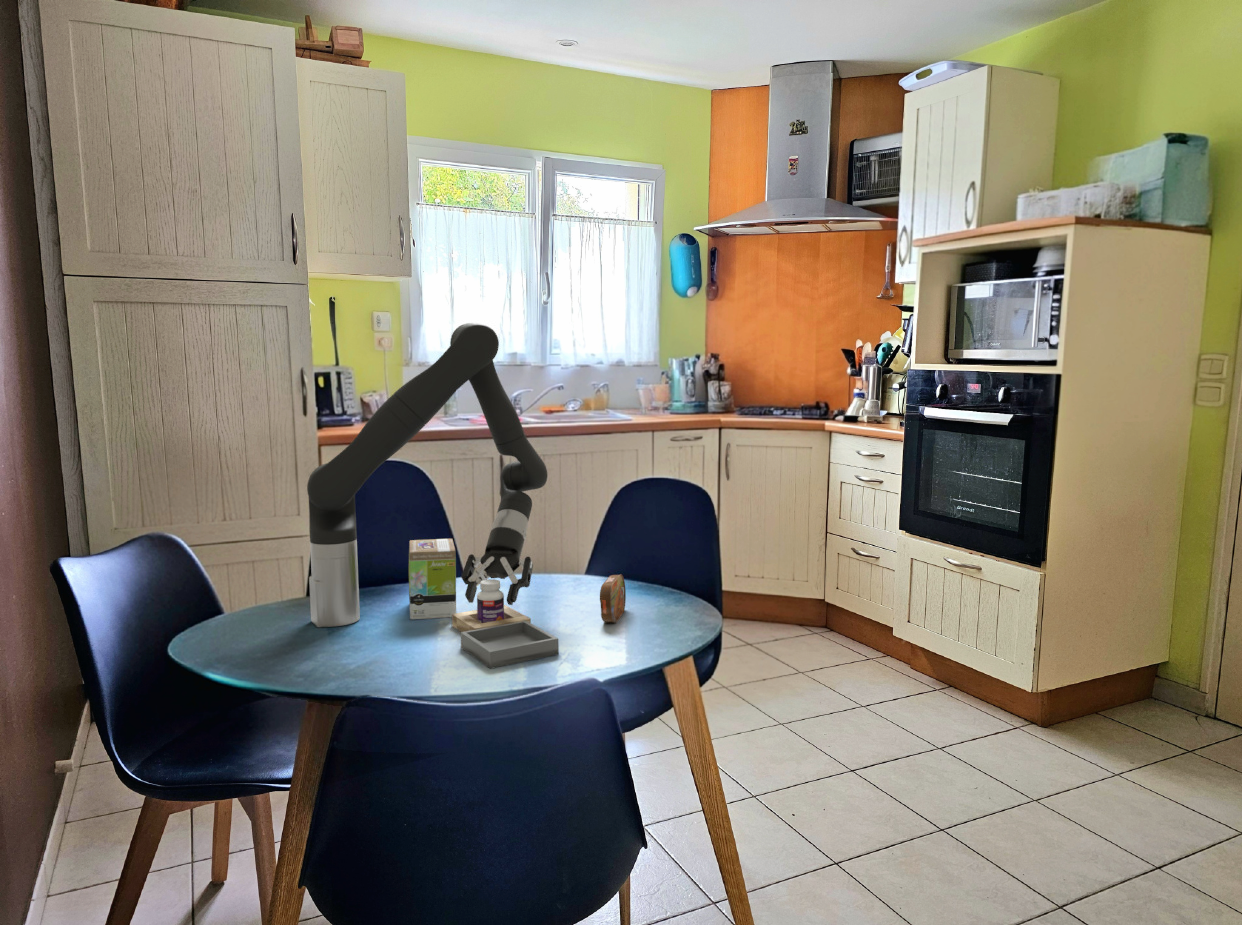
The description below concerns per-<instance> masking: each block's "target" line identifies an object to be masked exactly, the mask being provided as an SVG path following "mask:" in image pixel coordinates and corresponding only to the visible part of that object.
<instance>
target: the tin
mask: <svg viewBox="0 0 1242 925" xmlns="http://www.w3.org/2000/svg"><path fill="white" fill-rule="evenodd" d="M626 595H627V593H626V582H625V578H624V576H623V574H612V575H609V576H608V577H607V579H605V581H604V582H603V584H602V585H601V587H600V590H599V603H600V617H601V620H602V622H603V623H608V624H610V623H614V624H617V622H618V621H619V620H620V618H621V616H622V615H623V613H624V612H625V609H626V601H627V600H626V598H627V597H626Z"/></svg>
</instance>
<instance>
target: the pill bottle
mask: <svg viewBox="0 0 1242 925" xmlns="http://www.w3.org/2000/svg"><path fill="white" fill-rule="evenodd" d="M479 587H480V591H479V592H478V593H477V595H476V604H477V605H476V606H477V607H476V610H477V621H479V622H480V623H486V622H492V621H498V620H503V619H504V605H505V594H504V592H503V591H502V590H500V589H501V581H500V580H499V579H487V580H483V581H481V582H480V584H479Z"/></svg>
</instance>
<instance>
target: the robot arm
mask: <svg viewBox="0 0 1242 925" xmlns="http://www.w3.org/2000/svg"><path fill="white" fill-rule="evenodd" d="M499 342H500V340H499V336H498V335H497V333H496V331H495V330H494V329H493V328H492V327H490V326H489V325H487V324H484V323H478V322H468V323H463V324H461V325H458V327H456V329H454V330H453V332H452V334H451V338H450V342H449V343H450V346H449V347H448V348H447V349H446V350H445V352H443V354H442V355H441V356H440V357H439V358H438V359H437V360H436V361H435V362H434V363H433V364H432V365H430V366H429V367H428V368H426V369H425V370H423V371H422V372H420V373H419V374H417V375H416V376H414V377H413V378H412V379H410V380H408V381H407V382H406V383H405V384H403V385H402V386H400V387H399V388H398V389H397V390H395V392H393V394H391V396H389V397H388V398H387V399H386V401H385V402H383V404H381V405H380V406H379V408H377V410H376V411H375V412H374V413H373V414H372V415H371V417H370V418H369V419H368V421H367V422H366V423H365V424H364V425H363V427H362V428H361V430H360V431H359V433H358V434H357V435H356V437H354V439H352V441H351V442H350V443H349V444H348V446H347V447H345V448H344V449H342V451H341V452H340V453H338V454H337V455H336V456H334V458H332V459H331V460H330V461H328V462H327V463H324V464H321V465H319V466H318V467H316V468H314V469H313V471H312V472H311V474H310V476H309V477H308V478H309V479H308V480H307V485H306V491H307V496H308V514H309V515H308V516H309V517H308V518H309V522H308V523H309V546H310V567H311V568H310V570H311V572H310V573H311V574H310V576H309V578H308V579H309V580H308V582H309V602H310V603H309V605H310V606H309V607H310V621H311V622H312V623H313V624H314V625H315V627H317V628H322V627H327V628H328V627H329V628H330V627H341V626H347V625H351V624H354V623H356V622H358V621H359V620H360V612H361V611H360V610H361V608H360V590H359V564H358V541H357V540H358V538H357V537H358V536H357V535H358V534H357V516H356V494H357V493H358V491H359V490H360V489H361V488H362V486H363V485H364V484H365V483H366V482H367V480H368V479H369V478H370V477H371V475H372V474H374V472H375V471H376V470H377V469H378V468H379V467H380V466H381V465H382V464H384V463H385V462H386V461H387V460H389V459H390V458H391V457H392V456H394V455H395V454H396V453H398V451H399V450H401V449H402V448H403V447H404V446H405V445H407V443H409V442H410V440H413V438H414V437H415V436H416V435H417V434H418V433H419V432H420V431H421V430H422V429H423V428H424V427H425V426H426V425H427V424H428V423H429V422H430V421H431V420H432V419H433V418H434V417H435V415H437V413H438V412H439V411H440V410H441V409H442V408H443V407H444V406H445V405H446V403H447V402H448V401H449V400H450V399H451V397H452V396H453V395H454V394H455V393H456V392H457V391H458V390H459V389H460V388H461V387H462V386H463V385H464V384H465V383H467V382H468V381H469V383H470V385H471V387H472V389H473V391H474V394H475V396H476V399H477V401H478V403H479V405H480V408H481V410H482V413H483V417H484V419H485V421H486V424H487V427H488V430H489V431H490V434H491V437H492V439H493V441H494V445H495V447H496V450H497V452H498V453H499V454H500V455H502V456H505V457H506V456H507V457H513V458H516V460H517V461H512V462H509V463H507V464H506V465H505V466H504V467H503V468H502V470H501V471H500V475H499V476H500V477H499V478H500V480H499V481H500V503H499V506H498V509H497V512H496V516H495V518H494V520H493V522H492V525H491V528H490V532H489V535H488V540H487V542H486V546H485V551H484V554H483V555H482V556H481V557H479V556H475V555H474V554H472V553H471V554H469V555H468V557H467V560H466V562H465V565H464V568H463V569H462V572H461V576H460V578H461V579H462V581H463V582H464V584H465V585H467V586H466V590H465V593H464V594H465V595H464V596H465V598H466V600H467V602H468V603H469V604H470V603H471V604H473V603H474V602H475V601H474V600H475V598H476V594H477V590H478V586H480V582H481V581H483V580H489V578H490V579H502V580H505V579H506V578H508V579H509V580H510V582H511V584H509V588H508V591H507V596H506V603H507V604H508V605H509V606H513V604H514V603H516V602H517V599H518V595H519V592H520V589H521V588H529V587H530V586H531V580H532V579H531V578H532V575H533V574H532V573H533V569H534V568H533V567H534V564H533V561H532V559H531V557H530V556H526V557H525V558H521V556H522V553H523V552H522V551H523V548H524V544H525V540H526V538H527V532H528V523H529V520H530V517H531V513H532V508H533V500H532V498H531V496H530V495H528V494H527V493H526V492H527V491H534V490H539V489H541V488H543V487H544V486H545V485H546V484H547V481H548V469H547V466H546V464H545V462H544V461H543V459H542V458H541V456H540V455H539V454H538V452H537V451H536V449H535V448H534V446H533V445H532V444H531V443H530V441H529V440H528V438H527V436H526V433H525V431H524V428H523V425H522V422H521V420H520V417H519V415H518V413H517V411H516V409H515V407H514V405H513V403H512V401H511V399H510V398H509V396H508V394H507V392H506V390H505V389H504V385H502V383H501V380H500V378H499V375H498V373H497V371H496V370H497V369H496V366H495V362H494V359H495V357H496V356H497V354H498V351H499V346H500V344H499ZM480 564H481V565H480ZM479 565H480V566H479ZM520 566H521V569H522V572H521V578H517V576H516V574H515V571H517V569H518V568H519V567H520Z"/></svg>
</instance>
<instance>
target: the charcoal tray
mask: <svg viewBox="0 0 1242 925" xmlns="http://www.w3.org/2000/svg"><path fill="white" fill-rule="evenodd" d="M559 646H560V645H559V638H558V637H557V636H555V635H553V634H552V633H549V632H547V631H545V630H544V629H541V628H540V627H538V626H536V625H535V624H532V623H529V622H527V621H521V622H515V623H509V624H504V625H498V626H493V627H487V628H482V629H476V630H471V631H465V632H461V631H460V648H461V649H462V650H464V651H465V652H466V653H468V654H469V655H471V656H472V657H473V658H474V659H476V660H477V661H479V663H481V664H483V665H484V666H486V667H487V668H489V669H490V670H492V669H495V668H500V667H501V668H502V667H505V666H509V665H510V666H511V665H514V664H518V663H519V664H520V663H525V662H529V661H534V660H537V659H542V658H543V659H544V658H548V657H552V656H556V655H560V654H559V653H560V652H559V650H560V648H559Z"/></svg>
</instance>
